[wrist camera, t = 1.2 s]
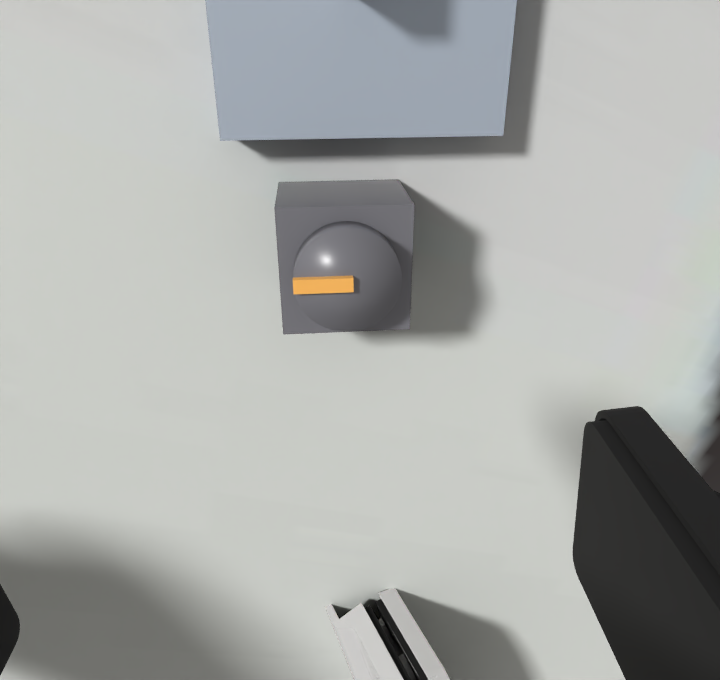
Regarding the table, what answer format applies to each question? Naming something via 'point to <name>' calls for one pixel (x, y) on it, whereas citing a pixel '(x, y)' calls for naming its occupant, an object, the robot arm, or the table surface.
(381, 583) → the table surface
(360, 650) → the napkin holder
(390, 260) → the knob
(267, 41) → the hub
